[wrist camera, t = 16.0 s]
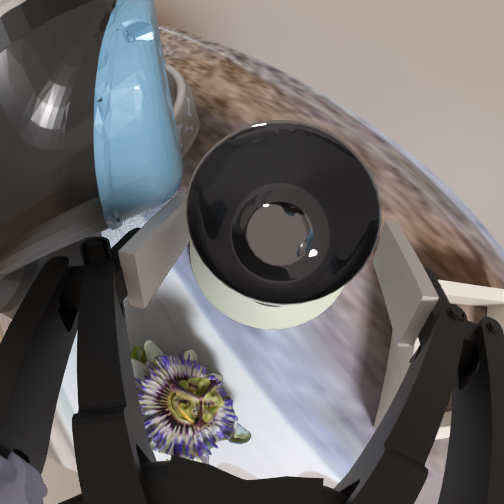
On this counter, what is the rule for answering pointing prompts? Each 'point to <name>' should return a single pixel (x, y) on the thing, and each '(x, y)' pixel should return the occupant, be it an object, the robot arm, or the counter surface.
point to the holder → (498, 307)
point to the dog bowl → (183, 109)
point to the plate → (250, 310)
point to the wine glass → (283, 212)
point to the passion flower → (183, 404)
